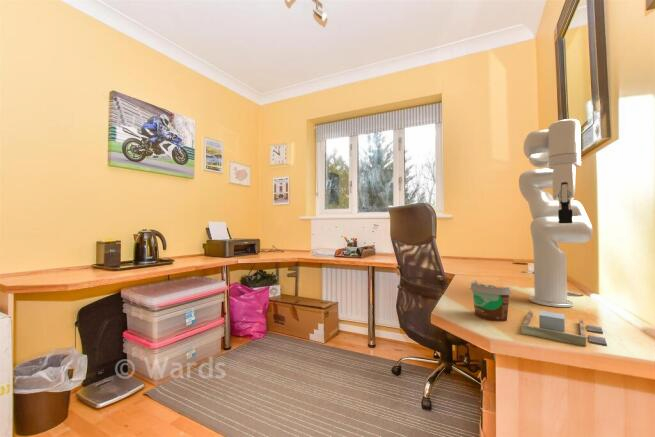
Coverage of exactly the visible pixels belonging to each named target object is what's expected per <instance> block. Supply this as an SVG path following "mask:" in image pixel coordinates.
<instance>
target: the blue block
mask: <svg viewBox="0 0 655 437" xmlns="http://www.w3.org/2000/svg"><path fill="white" fill-rule="evenodd" d="M565 317H566V316H565V314H563V313H557V312H551V311H545V310H544V311H543V310H540V313H539V315H538V318H539V319H538V320H539V321H538V322H539V324H538V325H539V326H538V328H542V329H548V330H553V331H559V332H564V333H566V325H565V324H566V320H565V319H566V318H565Z"/></svg>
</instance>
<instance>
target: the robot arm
mask: <svg viewBox="0 0 655 437" xmlns="http://www.w3.org/2000/svg"><path fill="white" fill-rule="evenodd" d="M581 138H582V137H581V124H580V121H579V120H577V119H574V118H566V119H561V120H557V121H555V122H552V123H551V124H550V125H549V126H548V128H547V129H540V130H535V131H534V130H533V131H531V132H529V133H528V134H527V135H526V137H525V139H524V142H523V153H524V156H525V157H526V159H528V160H529V163H530V164H531V165H532V166H534V167H536V168H535V169H529V170H525V171H524V172H522V173H521V174H520V175H519V177H518V188H519V190H520V193H521V196H522V197H523V198H524V199H525V201H526V202H527V203H528V207H529V211H530V214H531V218H532V221H531V223H530V227H529V228H530V235H531V239H532V245H533V246H532V247H533V284H534V286H533V289H534V295H531V296H529V301H530V302H532V303H534V304H538V305H542V306H548V307H554V308H571V307H573V306H574V302H573V301H572V300H568V280H567V279H568V276H567V275H568V274H567V273H568V272H567V268H568V267H567V266H568V265H567V263H568V262H567V256H566V253H565V251H564V250H563V249H562V248H561V247H560V246H559V245H558V244H561V243H562V244H564V243H565V244H585V243H587V242H589V241H590V240H592V238H593V235H594V228H593V225H592V222H591V219H590V217H589V216H588V213H587V212H586V210H585V208H584V206H583V204H582V203H581V202H580V201H578V200H576V199H575V194H576V185H577V184H576V176H577V175H576V171H577V170H576V168H578V167H581V166H582V161H581V160H582V159H581V158H582V157H581V156H582V152H581V151H582V150H581ZM545 189H552V194H551V193H550V192H548V191H547V190H545ZM574 199H575V200H574Z"/></svg>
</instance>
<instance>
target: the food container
mask: <svg viewBox="0 0 655 437" xmlns="http://www.w3.org/2000/svg"><path fill="white" fill-rule="evenodd" d="M469 289H470V290H471V291H472V295H473V306H474V307H473V308H474V315H475V316H476V317H478V318H480V319H482V320H483V319H484V320H486V321H493V322H507V321H508V313H509V304H510V303H509V300H510V295H511V296H512V291H511V288H510V286H509V287H508V286H507V287H497V286H495V285H490V284H489V285H488V284H481V283H478V282H477V280H472V282H471V284H470V288H469Z"/></svg>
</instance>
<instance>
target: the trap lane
mask: <svg viewBox="0 0 655 437" xmlns="http://www.w3.org/2000/svg"><path fill="white" fill-rule="evenodd" d="M533 314H534V311H533V310H528V312H527V314H526V316H525V319H524V321H523V323H522V324H520V333H521V334H524V335H528V336H533V337H538V338H543V339H547V340H548V339H549V340H554V341H558V342H563V343H568V344H574V345H578V346H583V347H587V337H588V341H589V344H595V345H601V346H608V345H607V344H608V343H607V340H606V337H601V336H596V335H591V334H588V336H586V331H585V324H584V318H581V317H579V318H578V319H579V320H578V324H579V332H580V333H579V334H580V335H579V334H575V333H574V334H573V333H569V332H565V333H564V332H559V331H553V330H548V329H542V328H539V327H536V326H531V325H530V323H531V321H532V318H533ZM586 330H587V332H589V333H596V334H601V335H604V332H603V329H602V326H595V325H590V324H586Z"/></svg>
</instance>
